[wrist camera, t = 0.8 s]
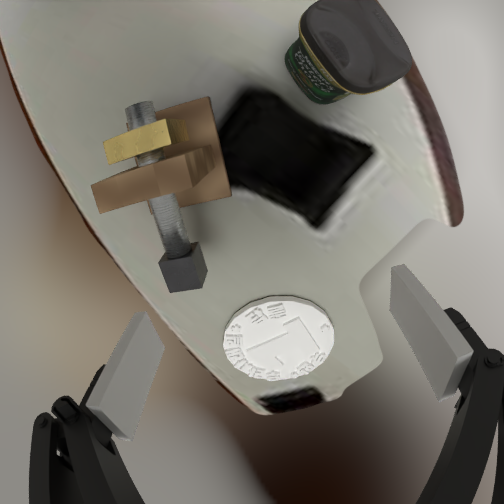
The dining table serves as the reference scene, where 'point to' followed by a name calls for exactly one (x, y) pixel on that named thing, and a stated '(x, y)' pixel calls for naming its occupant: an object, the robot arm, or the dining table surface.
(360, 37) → the coffee jar
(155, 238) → the dining table surface
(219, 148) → the bracket
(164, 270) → the shaft
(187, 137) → the spacer
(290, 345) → the giant coin
